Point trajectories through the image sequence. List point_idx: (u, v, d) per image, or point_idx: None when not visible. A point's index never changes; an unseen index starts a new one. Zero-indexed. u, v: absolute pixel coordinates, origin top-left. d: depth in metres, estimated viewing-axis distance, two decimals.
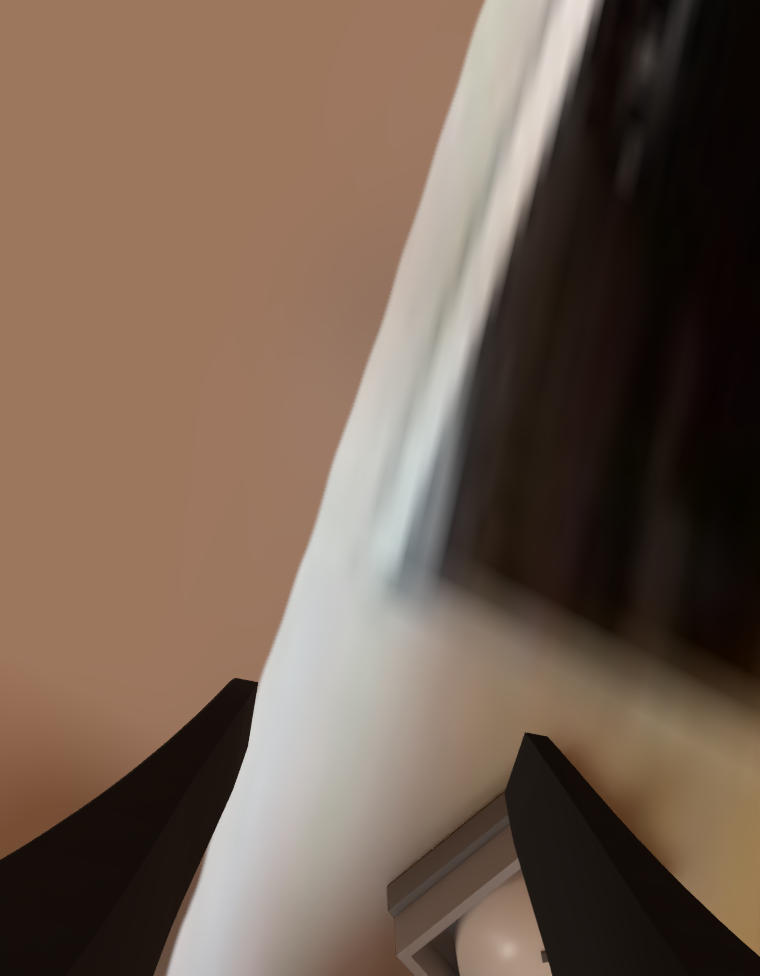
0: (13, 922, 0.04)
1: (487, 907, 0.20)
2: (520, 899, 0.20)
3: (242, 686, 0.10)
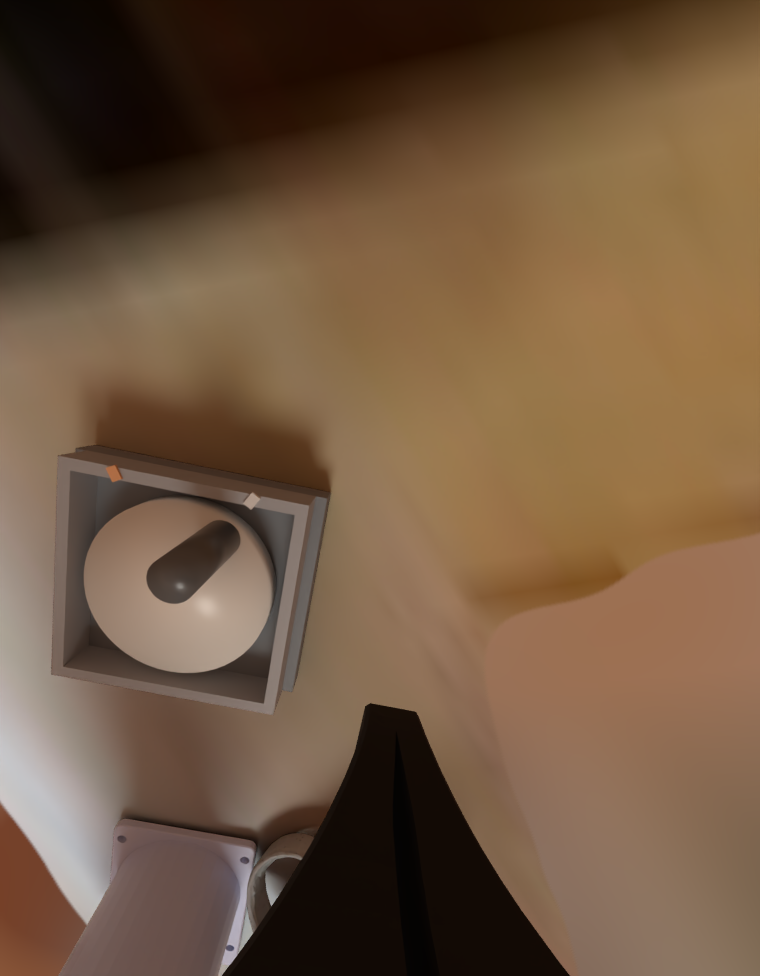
0: (331, 975, 0.04)
1: (90, 580, 0.17)
2: (108, 552, 0.17)
3: (382, 713, 0.10)
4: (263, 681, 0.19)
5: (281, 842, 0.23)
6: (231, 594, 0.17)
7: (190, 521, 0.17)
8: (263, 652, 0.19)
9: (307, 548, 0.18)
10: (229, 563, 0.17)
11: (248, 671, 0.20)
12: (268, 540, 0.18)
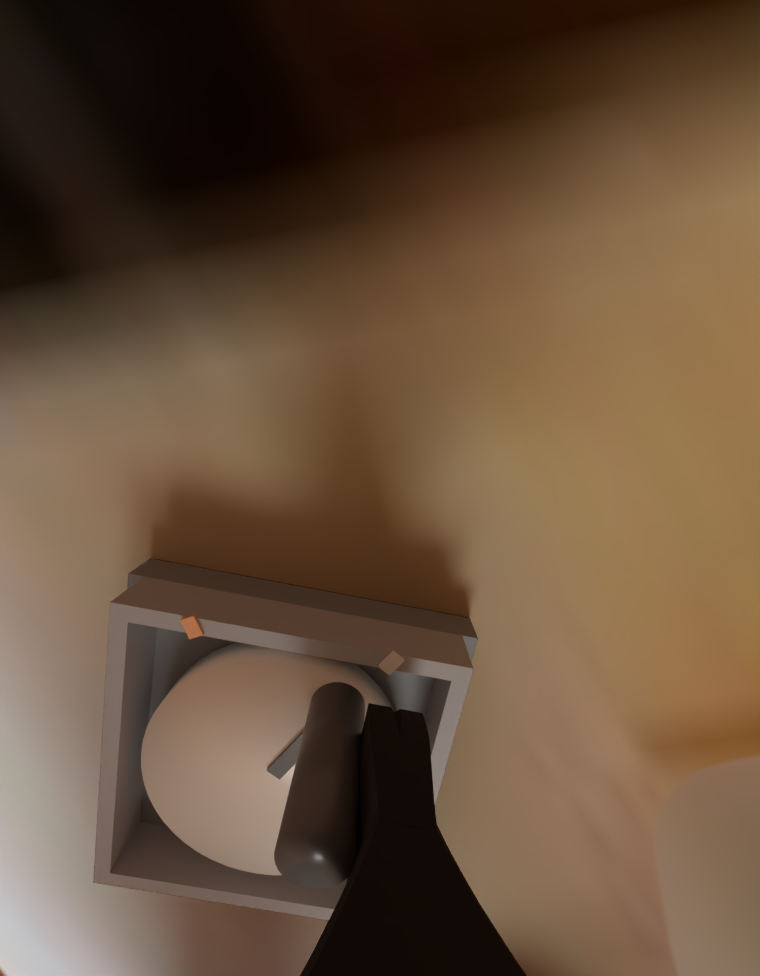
0: None
1: (150, 763, 0.12)
2: (177, 727, 0.12)
3: (414, 719, 0.10)
4: None
5: None
6: None
7: (294, 684, 0.12)
8: None
9: None
10: None
11: None
12: (392, 691, 0.13)
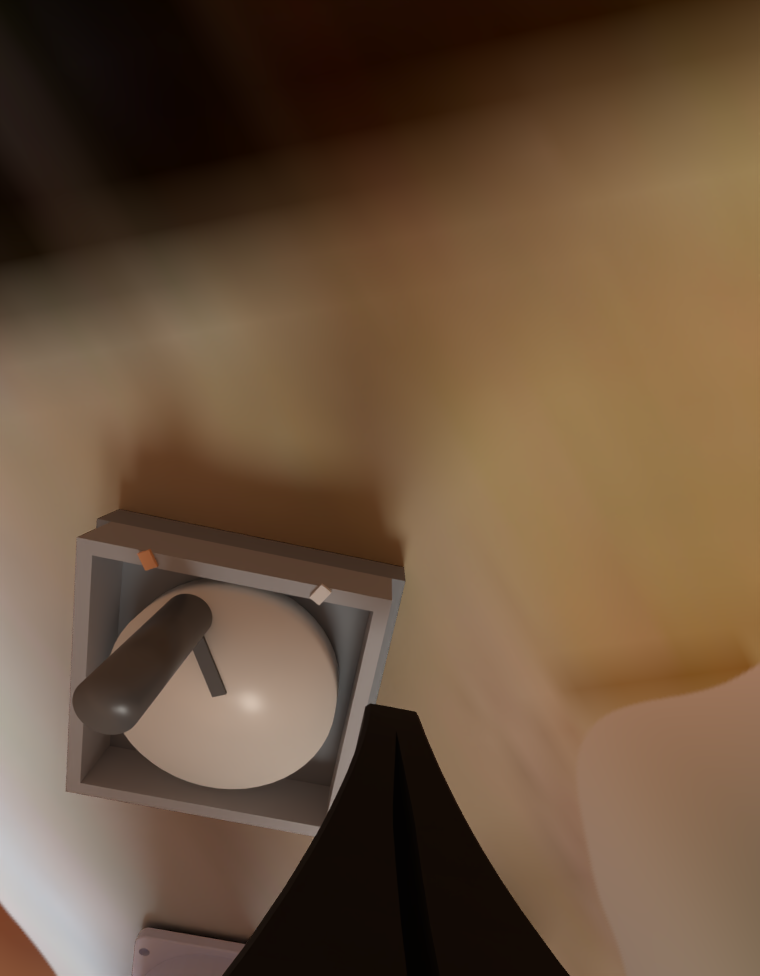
0: (331, 975, 0.04)
1: (162, 761, 0.15)
2: (142, 726, 0.14)
3: (382, 713, 0.10)
4: (318, 789, 0.16)
5: None
6: (258, 648, 0.14)
7: None
8: (319, 756, 0.16)
9: None
10: (221, 626, 0.13)
11: (300, 777, 0.16)
12: (330, 629, 0.15)
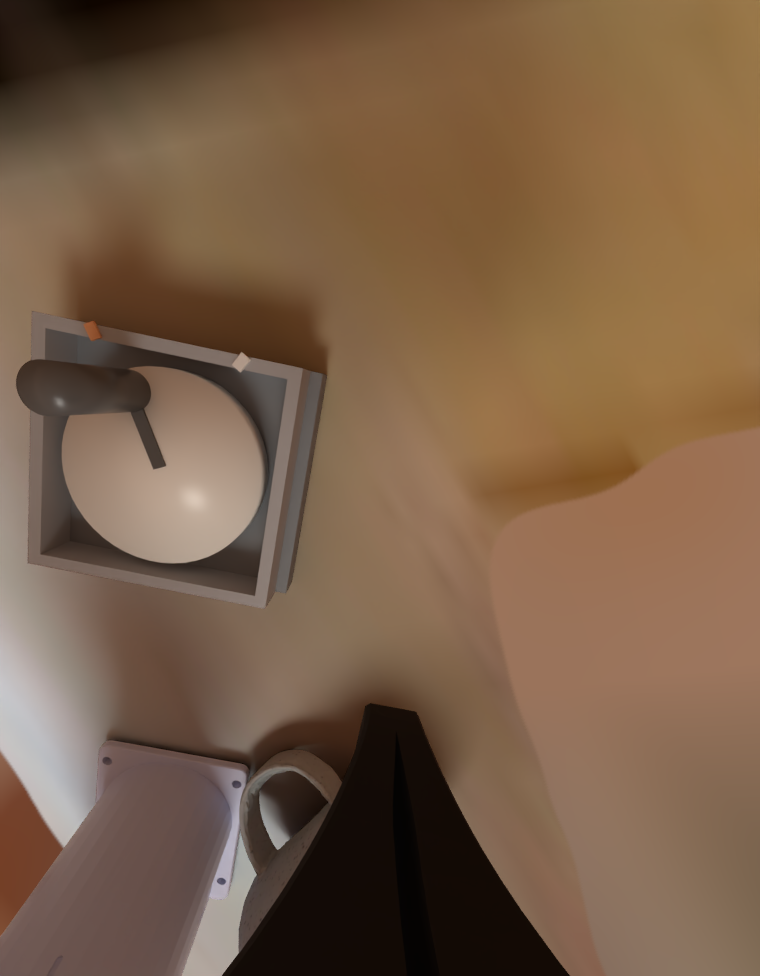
0: (331, 975, 0.04)
1: (112, 536, 0.17)
2: (93, 501, 0.16)
3: (382, 713, 0.10)
4: (255, 579, 0.18)
5: (276, 757, 0.21)
6: (191, 422, 0.16)
7: None
8: (255, 548, 0.18)
9: (301, 430, 0.17)
10: (158, 401, 0.16)
11: (239, 570, 0.18)
12: (260, 421, 0.17)
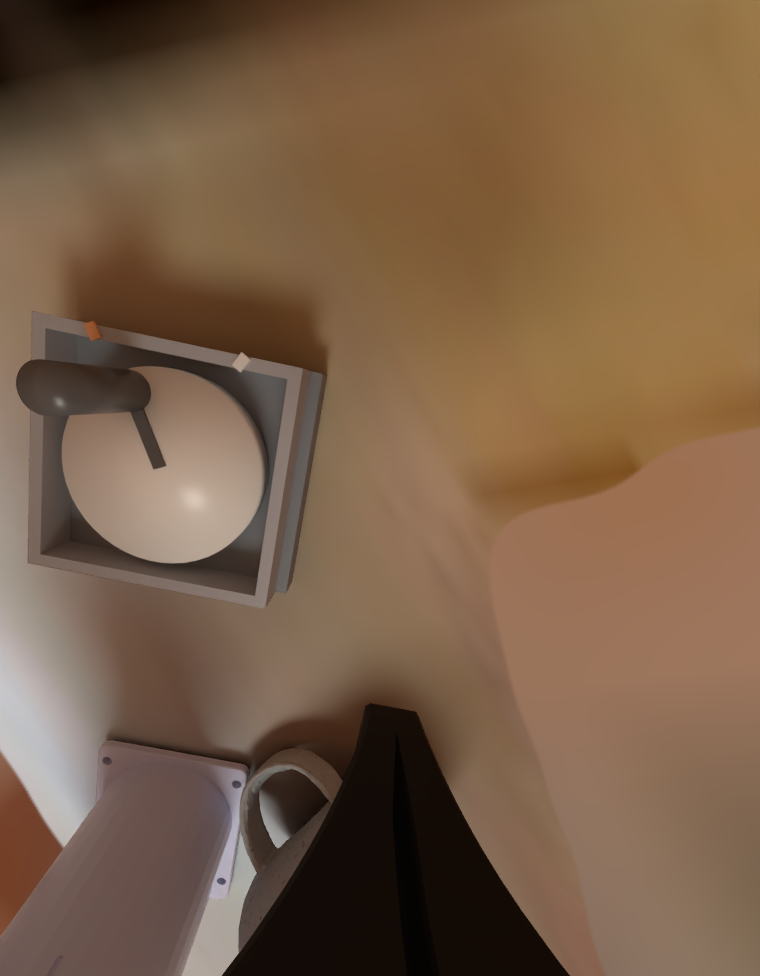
0: (331, 975, 0.04)
1: (112, 536, 0.17)
2: (93, 501, 0.16)
3: (382, 713, 0.10)
4: (255, 579, 0.18)
5: (277, 755, 0.21)
6: (191, 422, 0.16)
7: None
8: (255, 548, 0.18)
9: (301, 430, 0.17)
10: (158, 401, 0.16)
11: (239, 570, 0.18)
12: (260, 421, 0.17)
